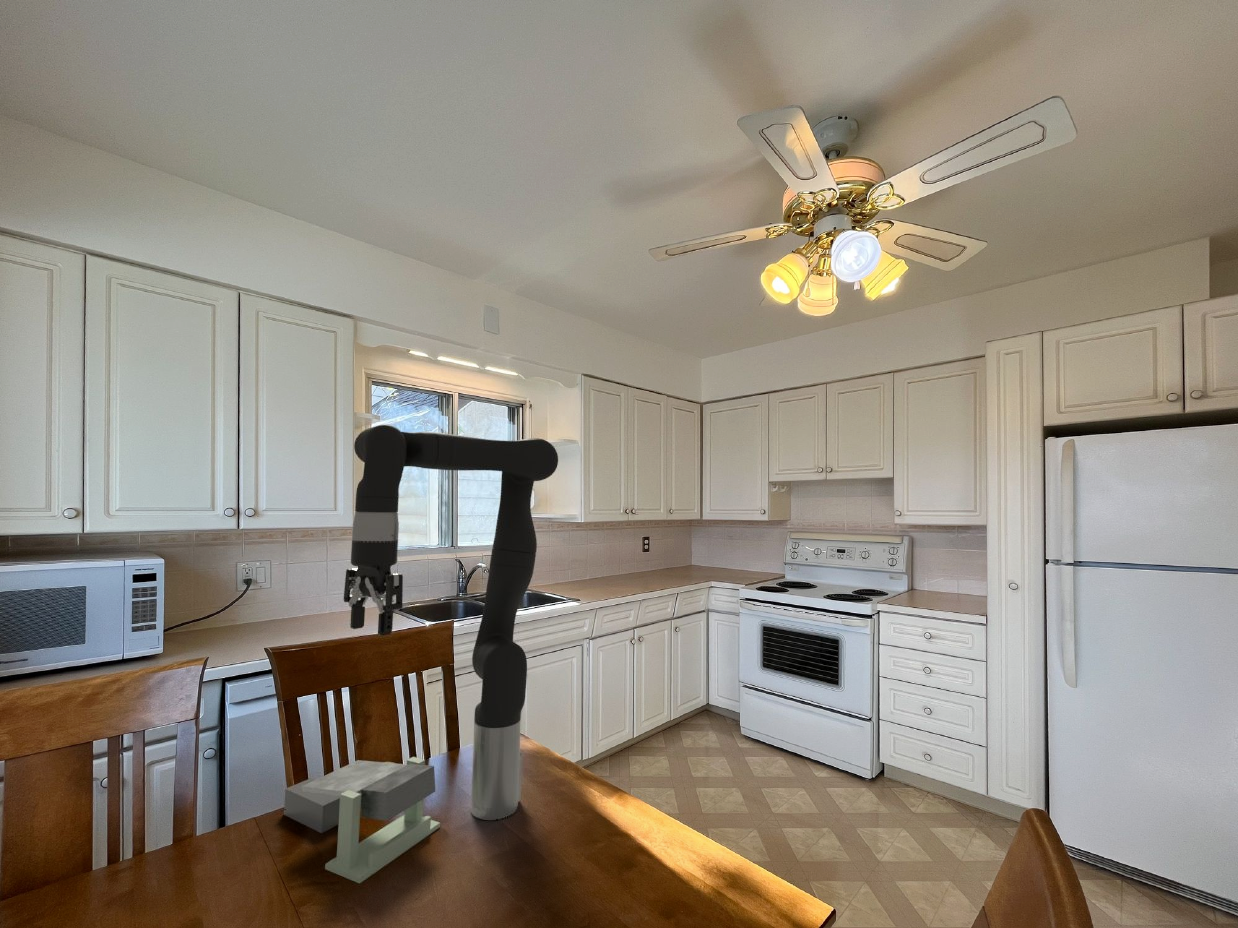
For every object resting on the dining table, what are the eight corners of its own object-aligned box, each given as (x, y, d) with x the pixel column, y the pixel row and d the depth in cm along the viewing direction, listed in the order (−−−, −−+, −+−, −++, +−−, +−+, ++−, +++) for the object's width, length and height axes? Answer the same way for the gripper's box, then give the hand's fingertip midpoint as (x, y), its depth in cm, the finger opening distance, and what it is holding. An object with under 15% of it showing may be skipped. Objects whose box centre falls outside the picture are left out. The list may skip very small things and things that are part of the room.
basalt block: (321, 834, 104) (283, 815, 110) (346, 821, 108) (308, 804, 114) (323, 805, 104) (285, 788, 110) (347, 794, 108) (310, 778, 114)
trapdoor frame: (359, 883, 90) (363, 805, 91) (325, 868, 93) (329, 794, 94) (439, 826, 106) (442, 761, 107) (408, 816, 110) (410, 753, 111)
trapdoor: (384, 822, 92) (382, 794, 93) (301, 810, 101) (300, 784, 101) (438, 789, 104) (436, 764, 104) (359, 780, 112) (358, 757, 113)
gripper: (418, 539, 99) (414, 633, 98) (372, 535, 107) (367, 622, 106) (379, 540, 93) (373, 641, 92) (333, 536, 101) (327, 629, 100)
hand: (370, 631), depth 99 cm, fingers open, 8 cm apart
